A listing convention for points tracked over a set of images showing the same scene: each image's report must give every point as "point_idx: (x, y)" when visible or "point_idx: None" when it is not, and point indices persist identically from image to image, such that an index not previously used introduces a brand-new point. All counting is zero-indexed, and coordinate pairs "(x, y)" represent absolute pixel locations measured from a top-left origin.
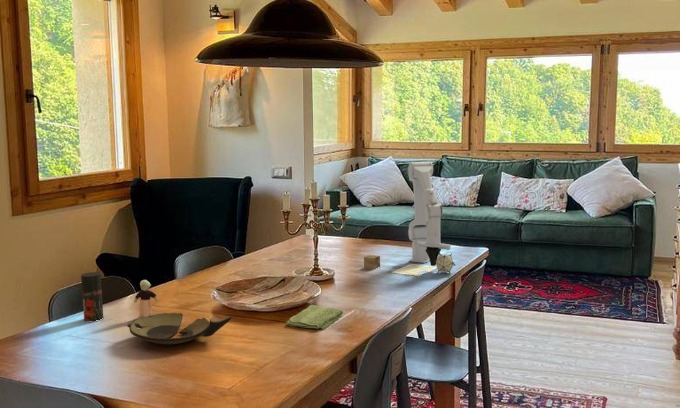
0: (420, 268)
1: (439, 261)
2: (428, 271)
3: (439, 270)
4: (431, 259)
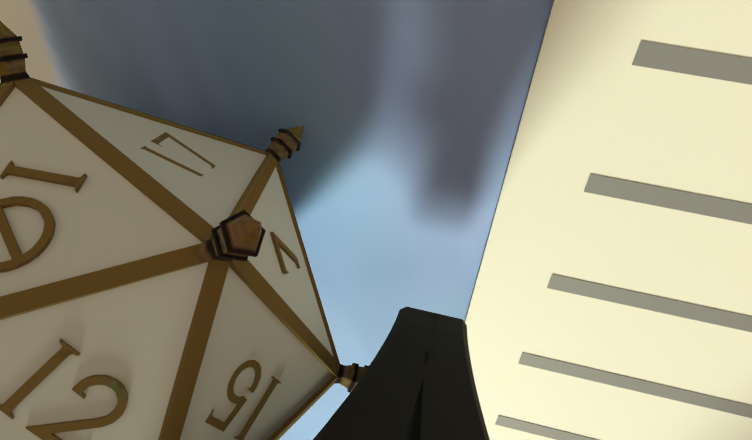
0: (713, 375)
1: (76, 230)
2: (515, 209)
3: (236, 143)
4: (422, 425)
